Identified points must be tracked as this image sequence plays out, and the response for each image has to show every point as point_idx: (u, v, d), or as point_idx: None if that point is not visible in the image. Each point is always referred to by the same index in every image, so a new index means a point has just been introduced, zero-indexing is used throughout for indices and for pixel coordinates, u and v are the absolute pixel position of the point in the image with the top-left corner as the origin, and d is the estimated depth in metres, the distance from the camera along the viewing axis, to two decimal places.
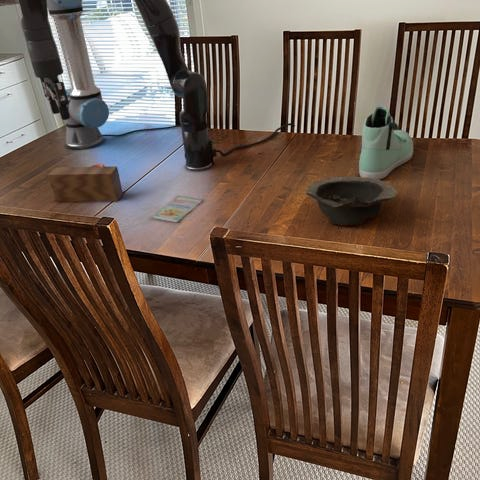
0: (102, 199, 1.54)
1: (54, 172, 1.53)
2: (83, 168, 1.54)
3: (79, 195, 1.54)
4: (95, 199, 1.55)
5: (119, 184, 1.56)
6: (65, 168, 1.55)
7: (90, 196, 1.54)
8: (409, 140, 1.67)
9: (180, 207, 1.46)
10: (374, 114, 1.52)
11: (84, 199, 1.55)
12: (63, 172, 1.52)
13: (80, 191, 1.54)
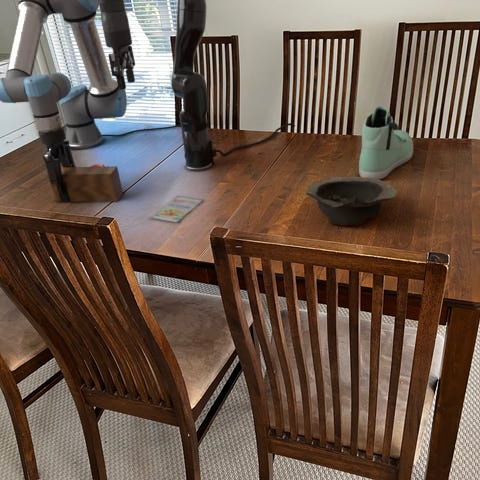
0: (102, 199, 1.54)
1: None
2: (83, 168, 1.54)
3: (79, 195, 1.54)
4: (95, 199, 1.55)
5: (119, 184, 1.56)
6: (65, 168, 1.55)
7: (90, 196, 1.54)
8: (409, 140, 1.67)
9: (180, 207, 1.46)
10: (374, 114, 1.52)
11: (84, 199, 1.55)
12: (63, 172, 1.52)
13: (80, 191, 1.54)
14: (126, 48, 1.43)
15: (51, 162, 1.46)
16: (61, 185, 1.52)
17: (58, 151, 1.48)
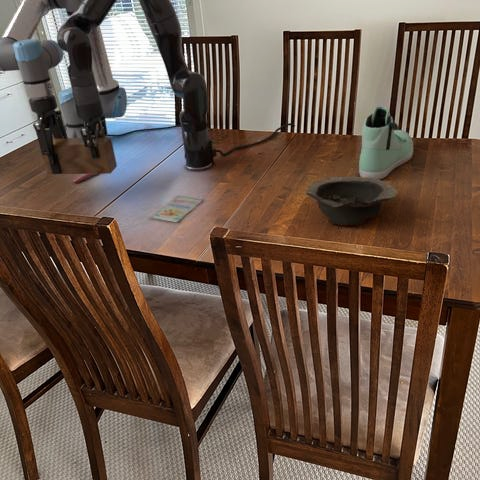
0: (95, 171, 1.49)
1: None
2: (76, 139, 1.49)
3: (72, 167, 1.49)
4: (88, 171, 1.50)
5: (113, 156, 1.51)
6: (57, 139, 1.50)
7: (83, 168, 1.49)
8: (409, 140, 1.67)
9: (180, 207, 1.46)
10: (374, 114, 1.52)
11: (77, 171, 1.50)
12: (55, 143, 1.47)
13: (72, 163, 1.49)
14: (98, 116, 1.45)
15: (42, 131, 1.41)
16: (53, 156, 1.47)
17: (49, 120, 1.43)
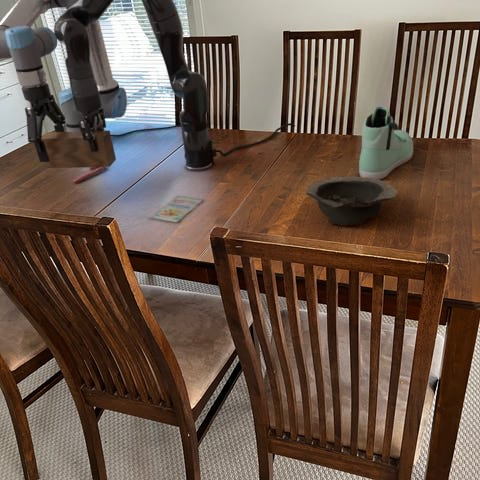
0: (94, 165, 1.48)
1: (44, 137, 1.47)
2: (74, 132, 1.48)
3: (71, 160, 1.48)
4: (87, 165, 1.48)
5: (112, 149, 1.50)
6: (55, 133, 1.49)
7: (82, 161, 1.48)
8: (409, 140, 1.67)
9: (180, 207, 1.46)
10: (374, 114, 1.52)
11: (75, 165, 1.49)
12: (54, 137, 1.46)
13: (71, 157, 1.48)
14: (96, 109, 1.44)
15: (33, 116, 1.38)
16: (40, 143, 1.42)
17: (43, 108, 1.41)
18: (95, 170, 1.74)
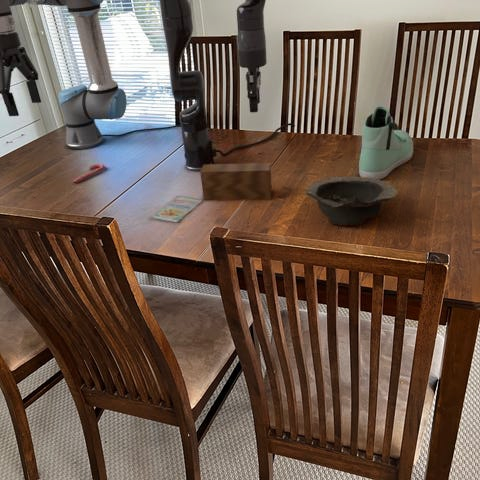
0: (255, 197, 1.48)
1: (205, 169, 1.46)
2: (234, 165, 1.48)
3: (231, 193, 1.48)
4: (247, 197, 1.48)
5: None
6: (214, 165, 1.49)
7: (242, 194, 1.48)
8: (409, 140, 1.67)
9: (180, 207, 1.46)
10: (374, 114, 1.52)
11: (235, 197, 1.48)
12: (216, 170, 1.45)
13: (232, 189, 1.47)
14: (257, 68, 1.32)
15: (0, 64, 1.31)
16: (8, 95, 1.34)
17: (11, 58, 1.34)
18: (95, 170, 1.74)
